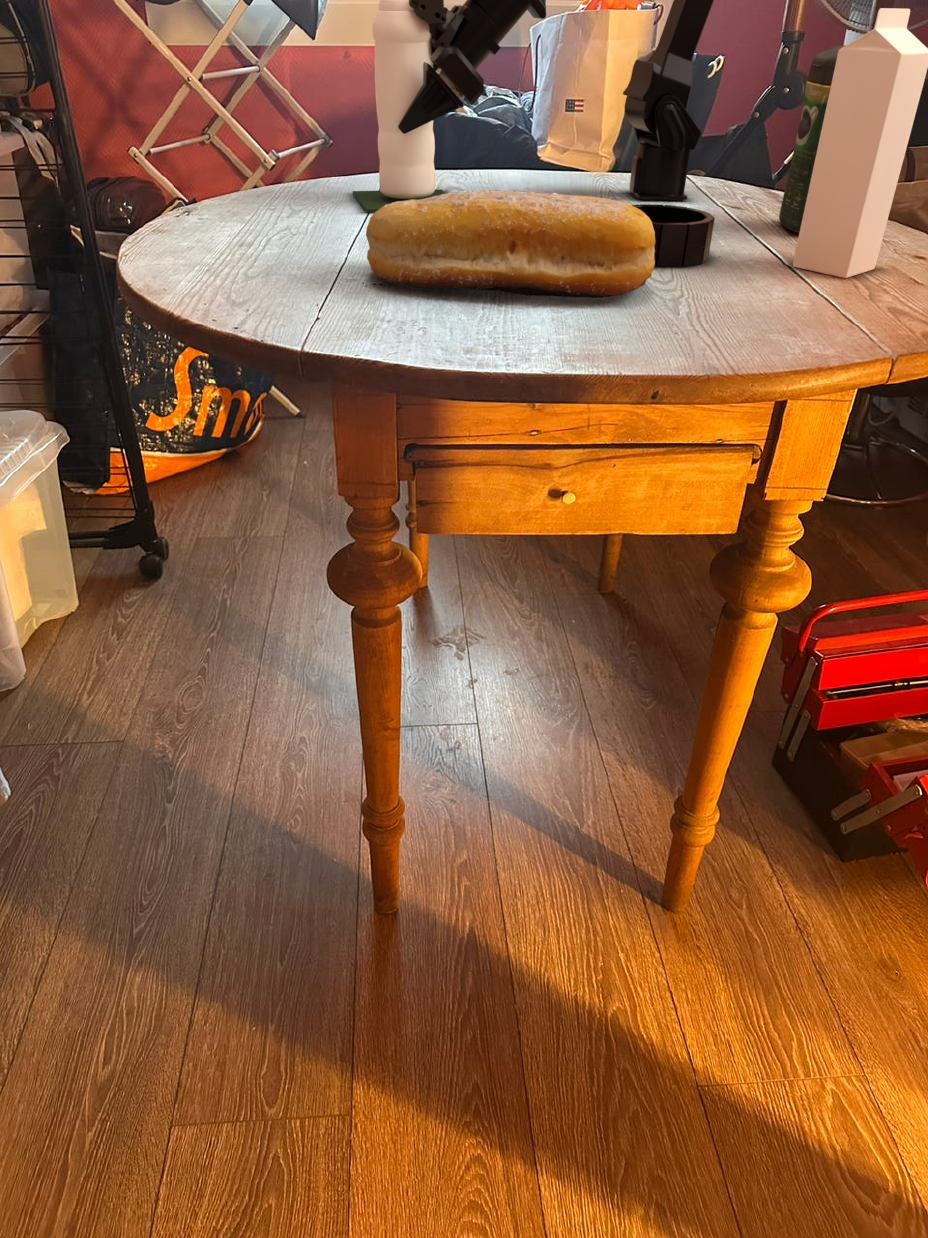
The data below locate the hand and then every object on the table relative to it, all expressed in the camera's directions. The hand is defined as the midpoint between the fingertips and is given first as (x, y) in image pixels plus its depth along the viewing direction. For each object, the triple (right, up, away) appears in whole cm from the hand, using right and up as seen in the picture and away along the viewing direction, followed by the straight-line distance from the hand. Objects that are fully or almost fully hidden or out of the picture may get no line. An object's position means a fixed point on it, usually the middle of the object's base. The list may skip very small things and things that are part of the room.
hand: (395, 126), depth 112 cm
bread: (+12, -29, -26) cm, 41 cm away
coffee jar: (+50, -14, -3) cm, 52 cm away
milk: (+46, -24, -18) cm, 55 cm away
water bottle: (+1, -6, +5) cm, 8 cm away
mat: (+1, -7, +5) cm, 9 cm away
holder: (+29, -22, -15) cm, 39 cm away
